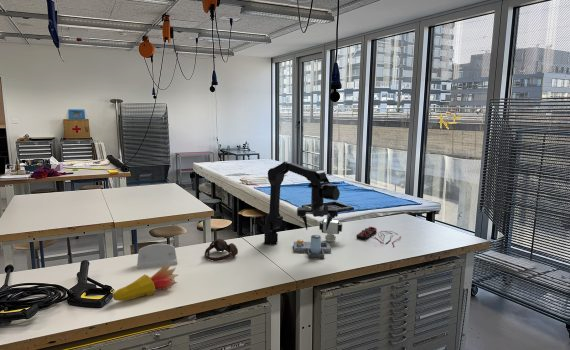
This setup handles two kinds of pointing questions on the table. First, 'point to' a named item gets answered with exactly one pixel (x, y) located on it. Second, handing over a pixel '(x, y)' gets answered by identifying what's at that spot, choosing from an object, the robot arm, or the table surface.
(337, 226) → the pneumatic valve
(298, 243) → the plunger
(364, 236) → the multimeter with leads
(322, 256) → the tray
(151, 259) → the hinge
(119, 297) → the torch
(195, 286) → the table surface
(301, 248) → the housing
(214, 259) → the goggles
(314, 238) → the cartridge
